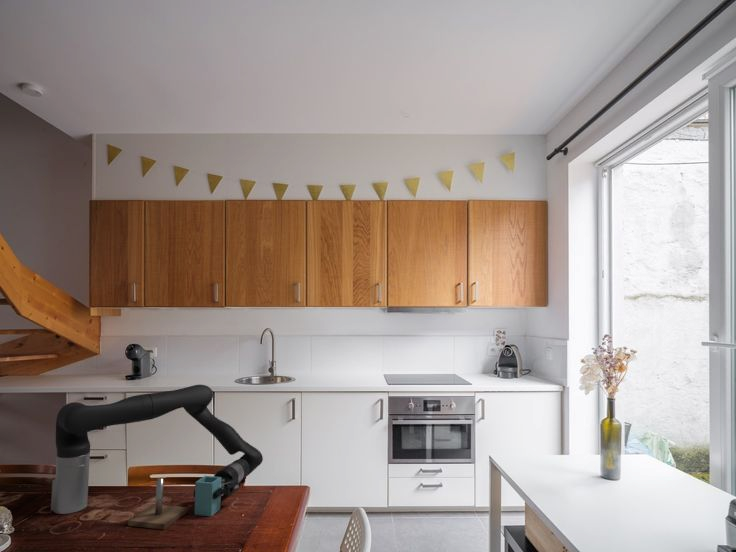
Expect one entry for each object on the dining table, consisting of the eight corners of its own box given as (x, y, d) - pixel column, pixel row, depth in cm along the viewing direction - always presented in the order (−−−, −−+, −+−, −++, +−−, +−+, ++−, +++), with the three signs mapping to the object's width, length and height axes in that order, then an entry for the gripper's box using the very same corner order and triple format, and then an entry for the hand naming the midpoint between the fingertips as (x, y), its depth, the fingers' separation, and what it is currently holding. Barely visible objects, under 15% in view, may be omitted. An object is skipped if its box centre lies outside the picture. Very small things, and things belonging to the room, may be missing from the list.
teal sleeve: (194, 514, 151) (195, 482, 151) (203, 507, 156) (205, 475, 157) (211, 516, 150) (212, 483, 150) (220, 508, 155) (221, 477, 156)
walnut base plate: (127, 525, 142) (128, 520, 143) (152, 508, 154) (153, 504, 154) (164, 529, 140) (164, 524, 140) (186, 512, 152) (187, 507, 152)
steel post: (153, 514, 147) (155, 479, 147) (157, 512, 148) (159, 477, 149) (159, 515, 146) (161, 480, 147) (163, 512, 148) (164, 477, 149)
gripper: (210, 464, 169) (183, 481, 152) (248, 467, 166) (225, 485, 150) (209, 486, 168) (182, 505, 152) (248, 489, 166) (225, 509, 149)
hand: (204, 495), depth 151 cm, fingers closed on teal sleeve, 5 cm apart
